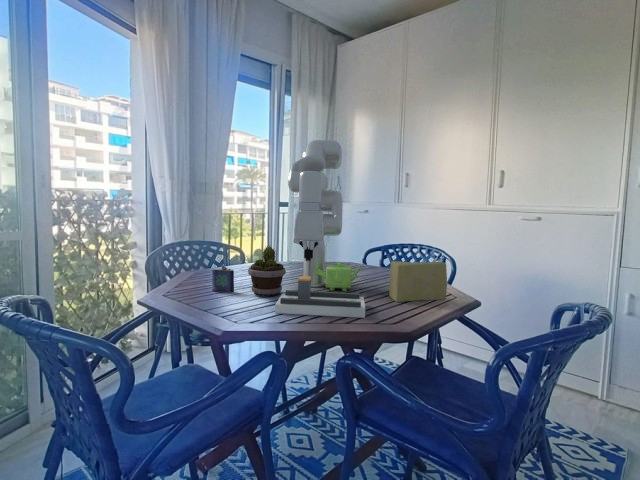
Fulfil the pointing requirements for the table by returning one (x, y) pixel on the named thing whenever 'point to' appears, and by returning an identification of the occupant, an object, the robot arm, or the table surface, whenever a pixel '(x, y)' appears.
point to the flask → (223, 280)
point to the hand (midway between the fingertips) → (308, 260)
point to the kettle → (338, 276)
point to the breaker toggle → (304, 287)
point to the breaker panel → (321, 308)
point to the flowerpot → (266, 274)
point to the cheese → (418, 281)
